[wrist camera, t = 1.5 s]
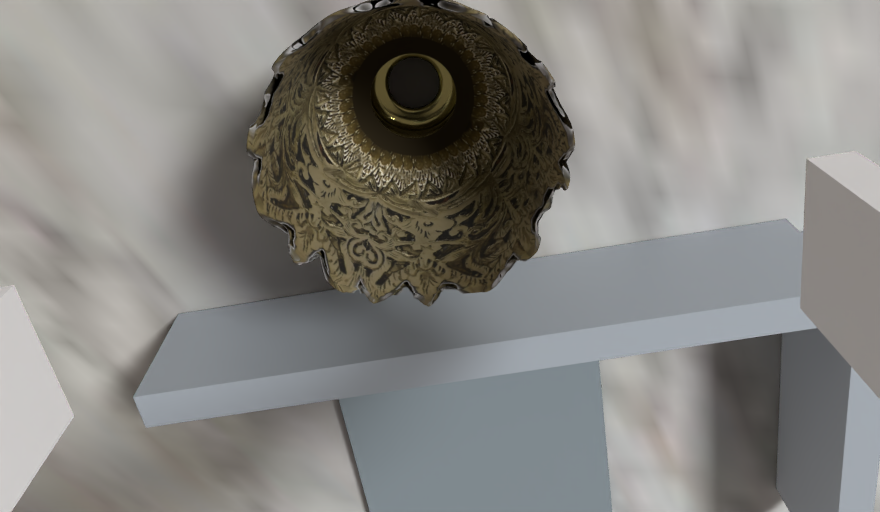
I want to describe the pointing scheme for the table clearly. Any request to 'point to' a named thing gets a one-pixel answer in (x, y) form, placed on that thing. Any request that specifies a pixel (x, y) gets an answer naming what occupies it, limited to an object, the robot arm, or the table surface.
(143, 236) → the table surface
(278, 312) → the fence
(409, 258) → the cup
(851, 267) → the robot arm
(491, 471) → the mat
